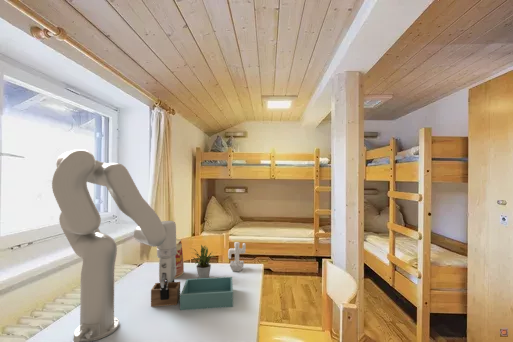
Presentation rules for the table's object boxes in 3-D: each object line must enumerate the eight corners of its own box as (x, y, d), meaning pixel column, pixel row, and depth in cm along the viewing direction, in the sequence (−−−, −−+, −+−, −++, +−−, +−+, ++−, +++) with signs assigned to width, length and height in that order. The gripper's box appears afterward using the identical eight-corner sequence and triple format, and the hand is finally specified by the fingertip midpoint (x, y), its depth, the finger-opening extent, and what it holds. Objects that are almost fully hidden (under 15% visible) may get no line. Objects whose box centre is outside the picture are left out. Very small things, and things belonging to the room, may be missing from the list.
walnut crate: (177, 305, 99) (177, 288, 99) (150, 306, 98) (151, 290, 98) (180, 297, 106) (180, 281, 106) (155, 298, 104) (155, 282, 105)
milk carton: (160, 277, 126) (160, 237, 127) (171, 270, 135) (171, 233, 135) (175, 279, 123) (175, 238, 124) (186, 272, 132) (186, 234, 133)
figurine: (228, 267, 139) (228, 240, 140) (245, 267, 140) (245, 240, 140) (227, 272, 132) (227, 244, 133) (245, 272, 133) (245, 243, 133)
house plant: (185, 274, 129) (185, 243, 130) (211, 270, 135) (211, 240, 136) (191, 285, 116) (191, 250, 117) (219, 279, 123) (219, 246, 123)
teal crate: (232, 307, 97) (232, 292, 98) (180, 310, 95) (180, 295, 95) (232, 290, 112) (232, 276, 112) (186, 292, 110) (186, 279, 110)
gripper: (171, 258, 94) (172, 303, 94) (180, 245, 111) (181, 283, 111) (150, 259, 93) (151, 305, 93) (162, 245, 111) (163, 284, 111)
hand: (167, 293), depth 102 cm, fingers open, 9 cm apart
